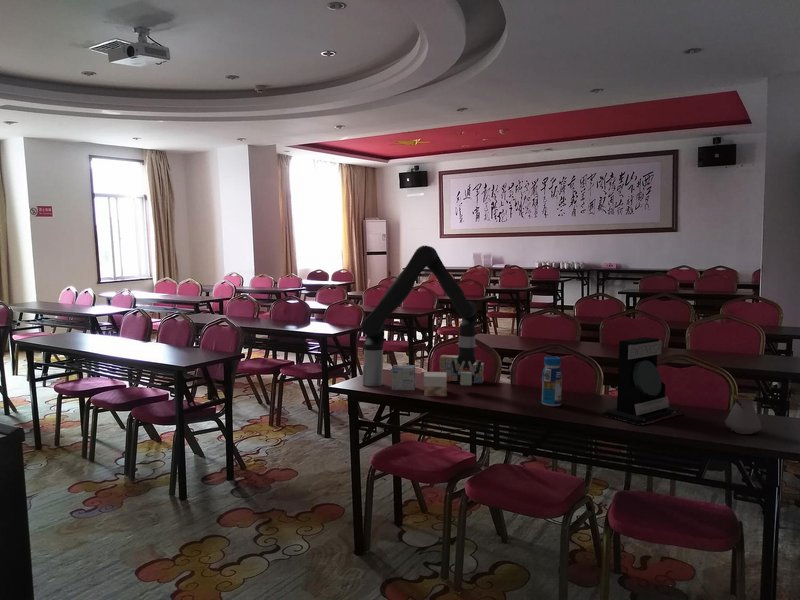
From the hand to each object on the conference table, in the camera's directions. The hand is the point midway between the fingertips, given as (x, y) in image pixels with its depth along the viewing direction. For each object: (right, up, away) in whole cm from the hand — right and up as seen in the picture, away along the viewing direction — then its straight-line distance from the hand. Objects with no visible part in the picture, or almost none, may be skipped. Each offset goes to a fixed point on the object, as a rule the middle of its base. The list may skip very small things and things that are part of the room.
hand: (465, 382), depth 275 cm
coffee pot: (+91, -11, -61) cm, 110 cm away
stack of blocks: (0, -3, +24) cm, 24 cm away
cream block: (-14, 0, -2) cm, 14 cm away
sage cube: (0, -1, 0) cm, 1 cm away
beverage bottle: (+34, -7, -19) cm, 40 cm away
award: (+66, -8, -35) cm, 76 cm away
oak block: (-14, -5, -2) cm, 15 cm away
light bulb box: (-28, -4, +7) cm, 29 cm away
